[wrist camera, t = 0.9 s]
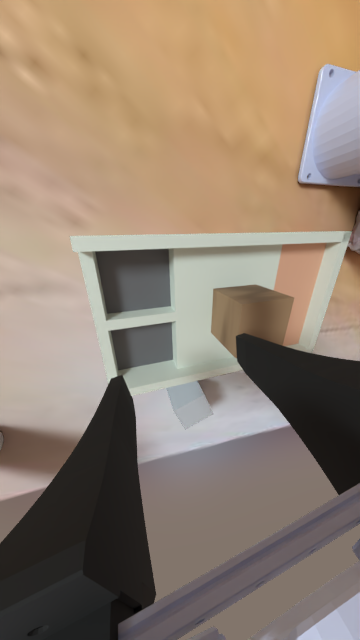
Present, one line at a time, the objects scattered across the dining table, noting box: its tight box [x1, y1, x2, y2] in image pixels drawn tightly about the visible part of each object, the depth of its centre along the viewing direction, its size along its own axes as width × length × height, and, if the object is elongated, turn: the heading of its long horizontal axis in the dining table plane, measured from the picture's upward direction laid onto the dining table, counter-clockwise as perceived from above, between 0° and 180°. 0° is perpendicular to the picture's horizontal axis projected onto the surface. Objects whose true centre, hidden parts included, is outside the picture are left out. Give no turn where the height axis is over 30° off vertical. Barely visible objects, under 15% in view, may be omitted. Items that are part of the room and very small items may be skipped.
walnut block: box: [211, 284, 294, 358], centre depth 18 cm, size 5×5×5 cm
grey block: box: [167, 381, 213, 429], centre depth 24 cm, size 4×4×4 cm
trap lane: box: [70, 231, 352, 396], centre depth 20 cm, size 26×15×4 cm, turn 92°
